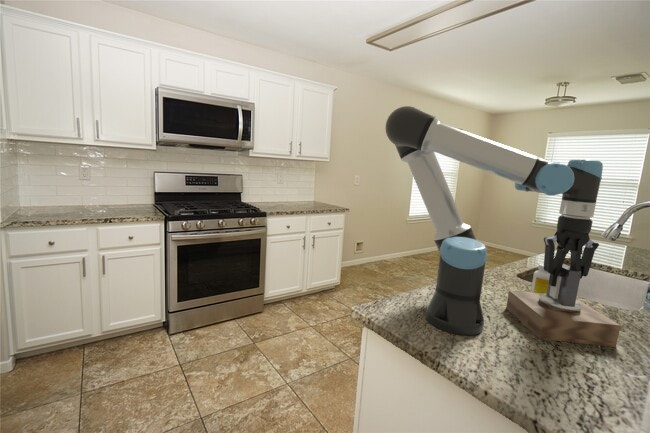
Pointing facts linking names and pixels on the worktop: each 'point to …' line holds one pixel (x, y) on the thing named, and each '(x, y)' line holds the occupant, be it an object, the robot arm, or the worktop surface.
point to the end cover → (564, 291)
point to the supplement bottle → (540, 280)
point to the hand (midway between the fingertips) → (560, 297)
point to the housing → (562, 321)
